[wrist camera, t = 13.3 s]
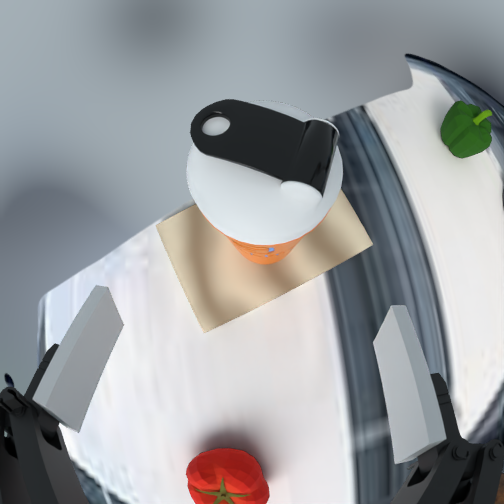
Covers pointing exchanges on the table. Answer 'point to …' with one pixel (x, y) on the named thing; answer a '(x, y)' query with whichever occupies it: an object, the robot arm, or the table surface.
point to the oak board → (247, 272)
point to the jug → (500, 491)
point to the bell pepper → (466, 129)
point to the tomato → (226, 478)
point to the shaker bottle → (263, 174)
